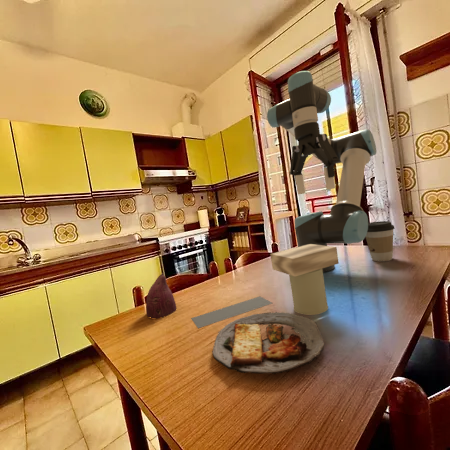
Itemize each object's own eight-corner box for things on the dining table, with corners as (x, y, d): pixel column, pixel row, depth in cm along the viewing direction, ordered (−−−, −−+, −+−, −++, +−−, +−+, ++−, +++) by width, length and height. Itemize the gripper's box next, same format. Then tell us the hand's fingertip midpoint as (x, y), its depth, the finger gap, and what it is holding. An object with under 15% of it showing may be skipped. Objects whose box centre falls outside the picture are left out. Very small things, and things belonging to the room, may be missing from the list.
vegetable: (181, 315, 91) (186, 272, 90) (165, 325, 81) (170, 278, 80) (156, 308, 94) (161, 267, 94) (137, 317, 84) (142, 272, 84)
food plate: (337, 379, 43) (334, 359, 43) (204, 387, 47) (201, 368, 47) (311, 317, 68) (309, 304, 68) (225, 325, 72) (223, 313, 72)
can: (329, 301, 74) (323, 261, 73) (327, 316, 66) (320, 270, 65) (296, 301, 78) (290, 262, 77) (291, 315, 70) (284, 272, 69)
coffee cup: (360, 258, 112) (356, 224, 111) (386, 254, 112) (382, 220, 111) (376, 264, 100) (371, 226, 99) (405, 259, 100) (400, 221, 99)
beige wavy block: (272, 269, 74) (270, 253, 73) (312, 258, 78) (310, 243, 78) (295, 276, 64) (292, 258, 63) (338, 263, 69) (336, 246, 68)
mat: (191, 319, 78) (191, 318, 78) (260, 297, 87) (260, 296, 86) (198, 329, 70) (198, 328, 70) (273, 304, 79) (272, 303, 79)
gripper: (274, 137, 92) (283, 196, 94) (325, 109, 69) (335, 188, 70) (291, 136, 95) (300, 194, 96) (346, 108, 72) (356, 184, 73)
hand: (315, 191), depth 83 cm, fingers open, 13 cm apart
